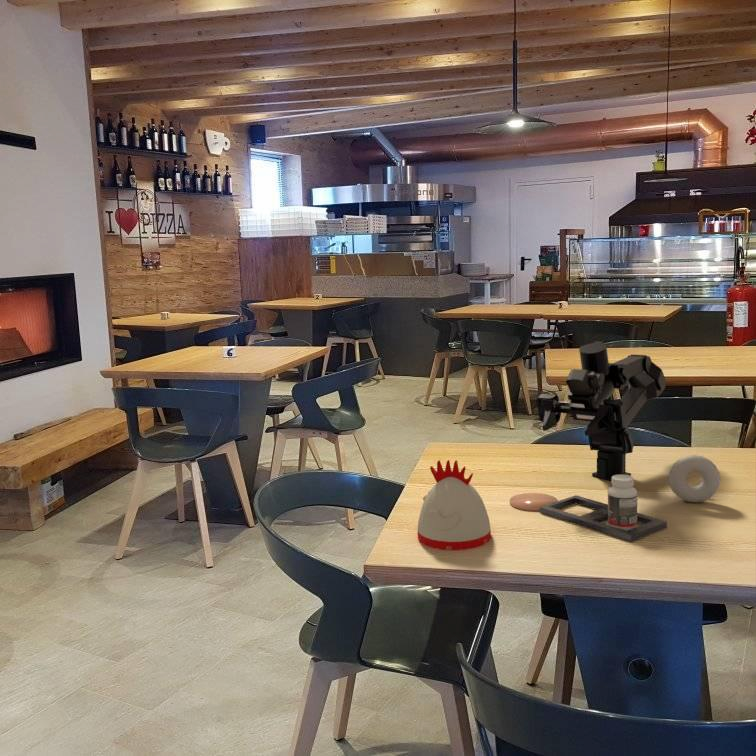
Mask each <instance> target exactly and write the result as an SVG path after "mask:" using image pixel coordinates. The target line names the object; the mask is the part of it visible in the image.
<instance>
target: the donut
mask: <svg viewBox="0 0 756 756" xmlns="http://www.w3.org/2000/svg"><path fill="white" fill-rule="evenodd" d="M691 472H697V473H699V474H700V475H701V476H702V480H701V482H700V484H698V485H691V484H688V482H687V480H686V477H687V476H688V474H689V473H691ZM667 477H668V478H667V479H668V483H669V484H668V485H669V487H670V488H671V491H672V493H674V494H675V495H676V496H677V497H678V498H679V499H681V500H683V501H685V502H689V503H693V504H694V503H703V502H705V501H707V500H710V499H711V498H713V496H714V495H716V493H717V491H718V490H719V488H720V484H721V476H720V471H719V469H718V467H717V465H716V464H715V463H714V462H713V461H711V460H710V459H709V458H707V457H705V456H703V455H699V454H698V455H697V454H691V455H690V454H689V455H685V456H683V457H680V458H679V459H677V460H676V461H675V462H673V464H672V466H671V467H670V469H669V472H668V476H667Z"/></svg>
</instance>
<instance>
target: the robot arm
mask: <svg viewBox="0 0 756 756" xmlns="http://www.w3.org/2000/svg"><path fill="white" fill-rule="evenodd" d="M607 348H608V347H607V344H605V341H597V340H596V341H594V342H593V343H588V344H585V345H581V346H580V347H579V357H580V364H581V365H580V366H581V369H578V368H573V369H570V372H569V373H568V376H567V377H566V381H565V383H566V385H567V387H568V390H569V393H568V394H567V399H568V400H569V401H570V402H569V401H560V399H559V396H558V395H557V394H549V393H541V394H540V395H539V396H538V397H537V398H536V408H537V412H538V418H539V421H540V422H541V423H542V431H544V432H545V431H548V430H550V429H551V428H554V427H556V426H557V425H558V424H557V423H559V422H560V420H561V415H562V414H568V415H572V419H573V420H574V421H584V422H589V424H587V426H586V428H585V430H584V435H585V436H586V437H587V438H588V444H589V450H590V451H597V452H596V453H597V454H596V455H597V456H596V471H595V472H592V473H591V476H593V477H595V478H600V479H604V480H608V481H612V476H614V475H629V476H632V473H631V472H627V471H626V468H627V466H626V455H627V454H632V453H633V452H634V451H633V449H634V447H635V445H634V442H635V441H634V439H633V436H632V434H631V432H630V430H629V425H630V424H631V422H632V421H633V419H634V418H635V417H636V416H637V414H638V412H640V410H641V409H642V407H643V406H644V405H645V403H646V402H648V401H649V400H653V399H657V397H659V396H660V395H661V394H663V392H664V391H665V389H666V384H667V381H666V377H665V375H664V372H663V369H662V368H661V367H659V366H658V365H657V364H655V363H654V362H653V361H652V359H651V357H650V356H649V355H646V354H629V355H628V356H627V357H625V358H622V359H620V360H618V361H615V362H609V356H608V355H609V354H608V349H607ZM626 386H628V389H627V391H626V392H625V393H624V394H623V396H622V397H621V399H613V393H614V390H623V389H624V388H625V387H626Z"/></svg>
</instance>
